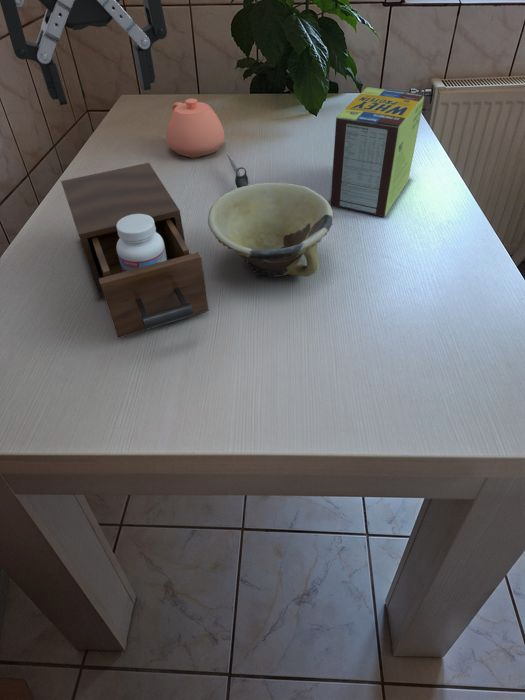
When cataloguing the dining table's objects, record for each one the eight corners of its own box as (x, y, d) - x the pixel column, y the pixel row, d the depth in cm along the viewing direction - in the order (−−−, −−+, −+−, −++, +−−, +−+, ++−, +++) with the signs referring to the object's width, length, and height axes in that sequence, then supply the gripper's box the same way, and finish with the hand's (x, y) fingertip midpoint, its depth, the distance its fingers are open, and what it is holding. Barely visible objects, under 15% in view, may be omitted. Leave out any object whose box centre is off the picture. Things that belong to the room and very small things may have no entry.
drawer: (222, 334, 65) (215, 279, 58) (127, 365, 61) (109, 310, 55) (176, 253, 78) (166, 201, 72) (96, 273, 75) (79, 221, 69)
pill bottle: (122, 305, 68) (101, 233, 60) (140, 278, 72) (122, 208, 64) (163, 311, 67) (147, 238, 59) (179, 283, 71) (166, 212, 63)
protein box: (409, 180, 95) (425, 93, 84) (384, 218, 86) (399, 126, 75) (357, 170, 99) (366, 85, 88) (328, 205, 89) (334, 116, 78)
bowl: (191, 264, 78) (182, 208, 71) (278, 222, 86) (277, 169, 79) (264, 319, 68) (261, 261, 61) (354, 267, 76) (360, 210, 69)
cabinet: (190, 273, 76) (179, 210, 68) (100, 298, 72) (78, 234, 65) (160, 222, 87) (149, 162, 79) (81, 241, 83) (60, 180, 76)
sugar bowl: (189, 167, 102) (181, 115, 95) (154, 146, 110) (145, 97, 102) (236, 150, 107) (233, 100, 100) (200, 131, 115) (194, 83, 108)
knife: (221, 163, 101) (220, 139, 97) (233, 162, 101) (231, 138, 98) (246, 214, 89) (245, 189, 85) (258, 212, 89) (258, 187, 85)
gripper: (130, -127, 44) (162, 74, 55) (-44, -119, 40) (29, 96, 52) (152, -126, 39) (182, 94, 50) (-44, -116, 35) (37, 120, 47)
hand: (104, 95), depth 51 cm, fingers open, 8 cm apart
